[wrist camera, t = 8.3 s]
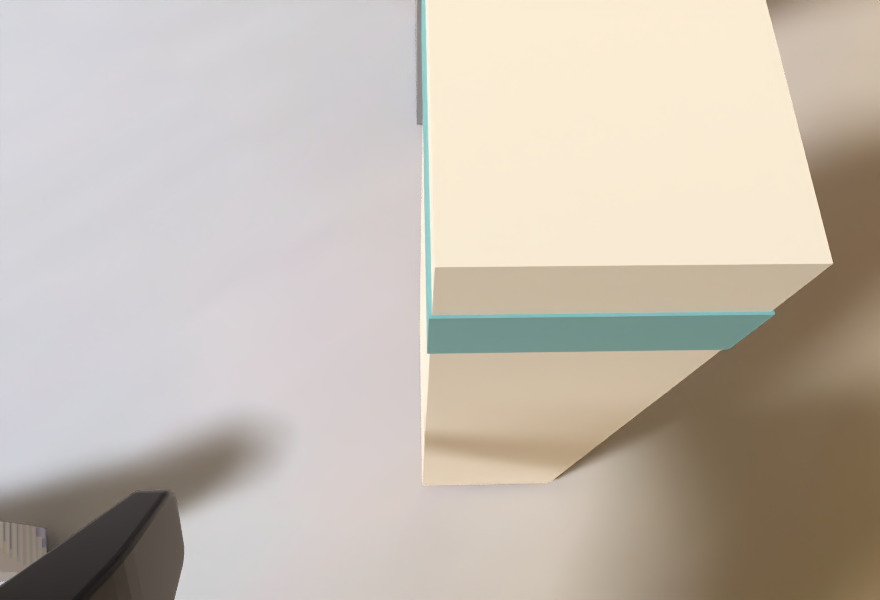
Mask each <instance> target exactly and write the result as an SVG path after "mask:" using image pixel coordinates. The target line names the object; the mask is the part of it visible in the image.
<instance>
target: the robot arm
mask: <svg viewBox="0 0 880 600" xmlns="http://www.w3.org/2000/svg"><path fill="white" fill-rule="evenodd" d="M183 560H184V542H183V536H182V530H181V524H180V518H179V512H178V506H177V501H176V498H175V496H174V493H173V492H171V491H170V490H167V489H165V490H138V491H135V492H134V493H132V494H130V495H129V496H128V497H126V498H125V499H123V500H122V501H120V502H119V503H118V504H116V505H115V506H113V507H112V508H110V509H109V510H108V511H106V512H105V513H103V514H102V515H100V516H99V517H98V518H96V519H95V520H93V521H92V522H90V523H89V524H88V525H86V526H85V527H83V528H82V529H80V530H79V531H78V532H76V533H75V534H73V535H72V536H70V537H69V538H68V539H66V540H65V541H63V542H62V543H60V544H59V545H58V546H56V547H55V548H53V549H52V550H50V551H49V552H48V553H46V554H45V555H43V556H42V557H40V558H39V559H38V560H36V561H35V562H33V563H32V564H30V565H29V566H28V567H26V568H25V569H23V570H22V571H20V572H19V573H18V574H16V575H15V576H13V577H12V578H10V579H9V580H8V581H6V582H5V583H3V584H2V585H0V600H174V599H175V594H176V590H177V586H178V582H179V578H180V574H181V570H182V566H183Z"/></svg>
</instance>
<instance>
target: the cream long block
mask: <svg viewBox="0 0 880 600" xmlns="http://www.w3.org/2000/svg"><path fill="white" fill-rule="evenodd" d="M421 44H422V100H423V137H422V213H421V288H420V360H421V430H422V486H431V485H480V484H528V483H550V482H551V481H552V480H554V479H555V478H556V477H558V476H559V475H560V474H561V473H563V472H564V471H565V470H567V469H568V468H569V467H570V466H572V465H573V464H574V463H576V462H577V461H578V460H580V459H581V458H582V457H583V456H585V455H586V454H587V453H589V452H590V451H591V450H592V449H594V448H595V447H596V446H598V445H599V444H600V443H602V442H603V441H604V440H605V439H607V438H608V437H609V436H611V435H612V434H613V433H615V432H616V431H617V430H618V429H620V428H621V427H622V426H624V425H625V424H626V423H627V422H629V421H630V420H631V419H633V418H634V417H635V416H637V415H638V414H639V413H640V412H642V411H643V410H644V409H646V408H647V407H648V406H649V405H651V404H652V403H653V402H655V401H656V400H657V399H659V398H660V397H661V396H662V395H664V394H665V393H666V392H668V391H669V390H670V389H672V388H673V387H674V386H675V385H677V384H678V383H679V382H681V381H682V380H683V379H684V378H686V377H687V376H688V375H690V374H691V373H692V372H694V371H695V370H696V369H697V368H699V367H700V366H701V365H703V364H704V363H705V362H706V361H708V360H709V359H710V358H712V357H713V356H714V355H716V354H717V353H718V352H719V351H721V350H729V349H730V348H732V347H733V346H734V345H736V344H737V343H738V342H740V341H741V340H742V339H744V338H745V337H746V336H748V335H749V334H750V333H752V332H753V331H754V330H756V329H757V328H758V327H760V326H761V325H762V324H764V323H765V322H766V321H768V320H769V319H770V318H771V317H773V316H774V315H775V311H774V309H775V308H776V307H778V306H779V305H780V304H782V303H783V302H784V301H786V300H787V299H788V298H789V297H791V296H792V295H793V294H795V293H796V292H797V291H798V290H800V289H801V288H802V287H804V286H805V285H806V284H808V283H809V282H810V281H811V280H813V279H814V278H815V277H817V276H818V275H819V274H820V273H822V272H823V271H824V270H826V269H827V268H828V267H830V266H831V265H832V264H833V261H832V257H831V253H830V249H829V245H828V241H827V237H826V234H825V230H824V226H823V222H822V218H821V214H820V210H819V206H818V202H817V198H816V195H815V191H814V187H813V183H812V179H811V175H810V171H809V167H808V163H807V159H806V155H805V152H804V148H803V144H802V140H801V136H800V132H799V128H798V124H797V120H796V116H795V113H794V109H793V105H792V101H791V97H790V93H789V89H788V85H787V81H786V77H785V73H784V70H783V66H782V62H781V58H780V54H779V50H778V46H777V42H776V38H775V34H774V31H773V27H772V23H771V19H770V15H769V11H768V7H767V3H766V0H422V13H421Z"/></svg>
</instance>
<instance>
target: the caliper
mask: <svg viewBox="0 0 880 600" xmlns="http://www.w3.org/2000/svg"><path fill="white" fill-rule="evenodd" d="M46 553H47V547H46V528H42V527H36V526H31V525H24V524H18V523H11V522H4V521H0V581H8V580H9V579H10V578H12V577H13V576H15V575H16V574H18V573H19V572H20V571H22V570H23V569H25V568H26V567H28V566H29V565H30V564H32V563H33V562H35V561H36V560H38V559H39V558H40V557H42V556H43V555H45V554H46Z"/></svg>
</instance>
